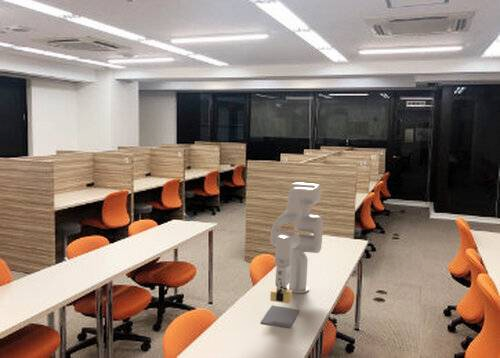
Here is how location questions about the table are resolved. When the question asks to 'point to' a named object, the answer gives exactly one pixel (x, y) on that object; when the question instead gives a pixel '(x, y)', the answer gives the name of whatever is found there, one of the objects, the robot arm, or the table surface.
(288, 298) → the box
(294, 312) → the mat
